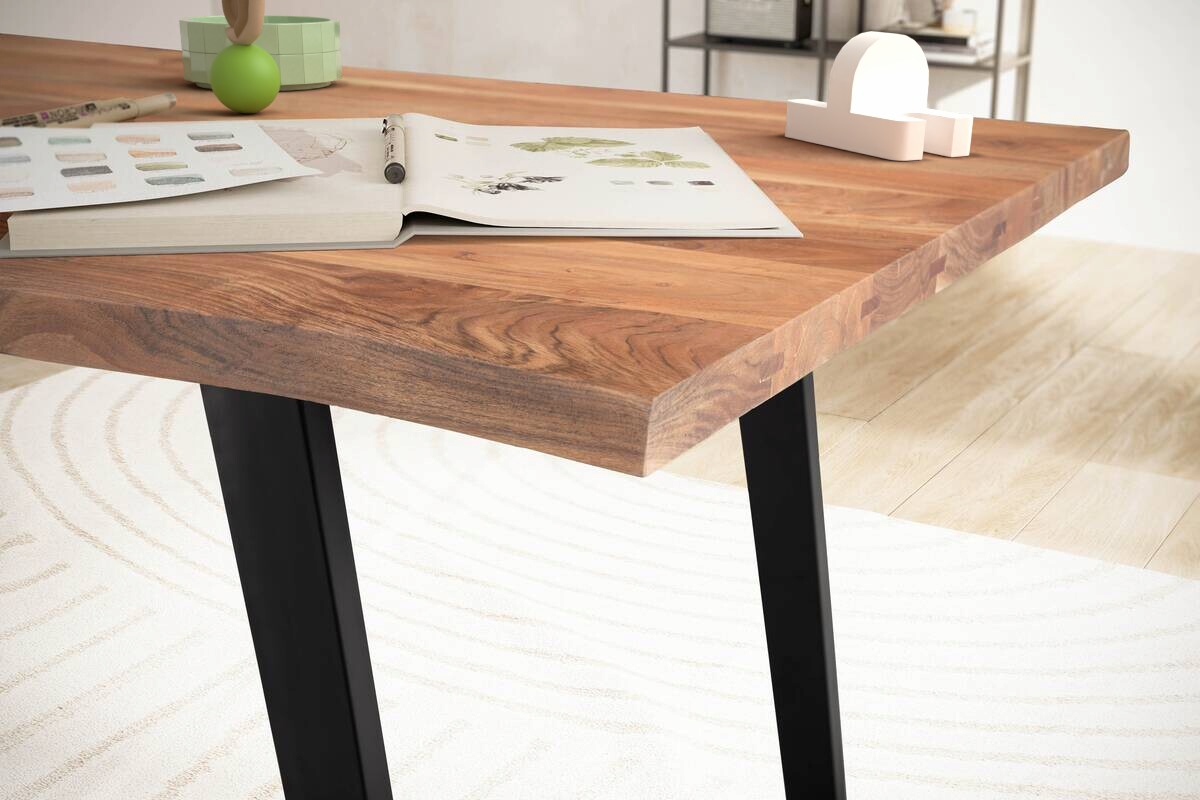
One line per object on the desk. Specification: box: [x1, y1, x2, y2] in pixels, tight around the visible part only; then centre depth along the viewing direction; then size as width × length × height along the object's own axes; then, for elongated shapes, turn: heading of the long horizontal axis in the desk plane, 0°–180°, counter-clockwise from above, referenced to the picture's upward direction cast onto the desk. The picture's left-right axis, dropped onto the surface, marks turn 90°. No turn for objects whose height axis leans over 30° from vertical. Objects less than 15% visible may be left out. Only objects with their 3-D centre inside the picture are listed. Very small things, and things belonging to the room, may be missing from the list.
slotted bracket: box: [784, 30, 974, 162], centre depth 91 cm, size 13×7×8 cm, turn 29°
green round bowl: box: [178, 14, 343, 92], centre depth 122 cm, size 15×15×6 cm
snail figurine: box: [210, 0, 281, 114], centre depth 100 cm, size 5×6×12 cm
